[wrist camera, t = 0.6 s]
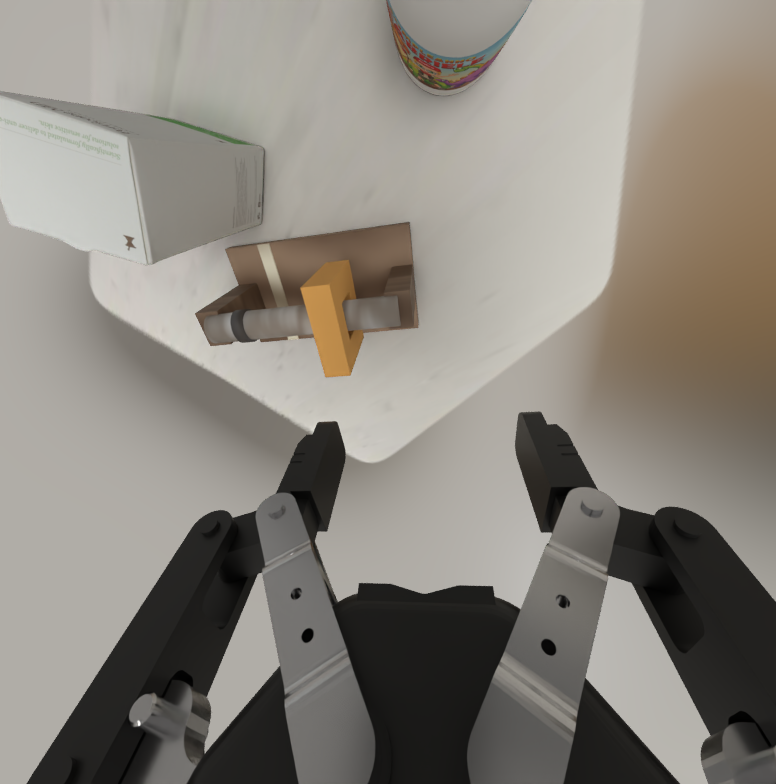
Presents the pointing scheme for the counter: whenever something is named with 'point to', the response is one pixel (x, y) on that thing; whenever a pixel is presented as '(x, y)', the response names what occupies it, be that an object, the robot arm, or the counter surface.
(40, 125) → the skincare box
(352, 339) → the collar
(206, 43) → the counter surface
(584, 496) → the robot arm
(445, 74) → the milk bottle
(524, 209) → the counter surface
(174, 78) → the counter surface
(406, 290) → the pipe stand
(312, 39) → the counter surface
